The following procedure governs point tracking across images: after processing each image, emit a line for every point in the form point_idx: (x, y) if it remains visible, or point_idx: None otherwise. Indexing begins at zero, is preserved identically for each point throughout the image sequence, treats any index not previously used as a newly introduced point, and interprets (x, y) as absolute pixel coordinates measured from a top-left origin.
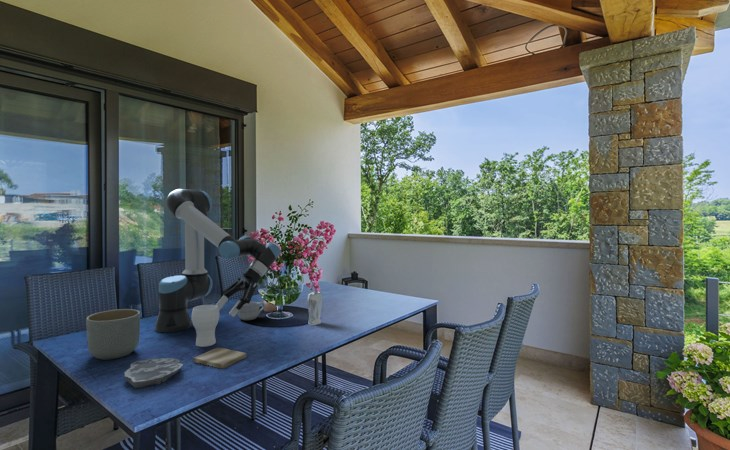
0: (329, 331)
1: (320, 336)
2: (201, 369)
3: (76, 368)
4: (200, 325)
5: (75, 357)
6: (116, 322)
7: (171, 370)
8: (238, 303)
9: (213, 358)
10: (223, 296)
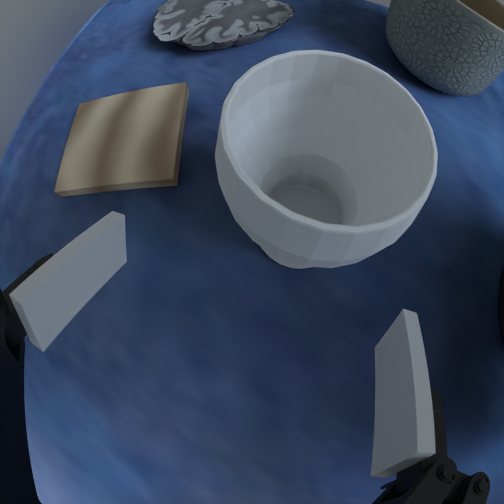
0: None
1: None
2: (132, 81)
3: None
4: (278, 119)
5: None
6: None
7: (163, 21)
8: (34, 283)
9: (122, 109)
10: (417, 435)
